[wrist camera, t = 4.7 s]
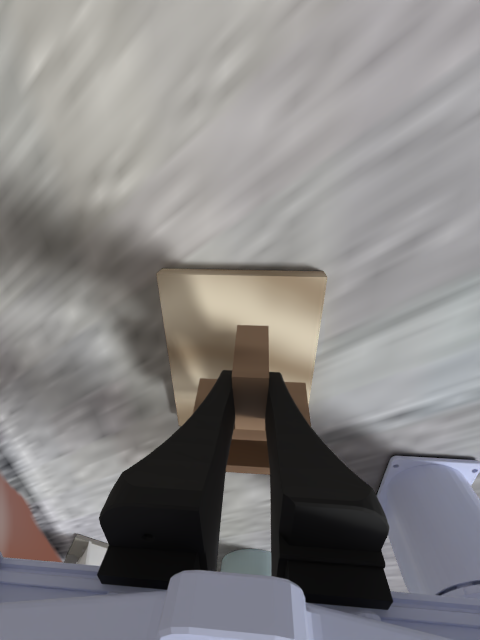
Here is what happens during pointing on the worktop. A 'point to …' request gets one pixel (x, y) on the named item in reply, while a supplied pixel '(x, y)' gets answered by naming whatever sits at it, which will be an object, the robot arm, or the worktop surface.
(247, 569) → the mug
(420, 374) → the worktop surface
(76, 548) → the skyscraper
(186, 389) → the birch board
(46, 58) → the worktop surface
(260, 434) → the walnut link
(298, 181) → the worktop surface
